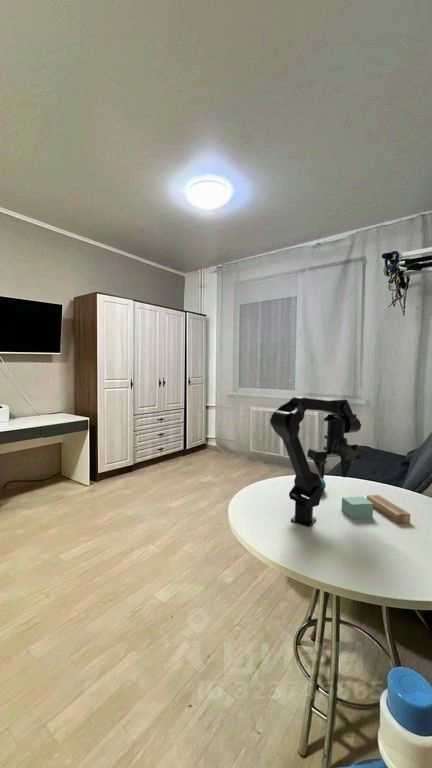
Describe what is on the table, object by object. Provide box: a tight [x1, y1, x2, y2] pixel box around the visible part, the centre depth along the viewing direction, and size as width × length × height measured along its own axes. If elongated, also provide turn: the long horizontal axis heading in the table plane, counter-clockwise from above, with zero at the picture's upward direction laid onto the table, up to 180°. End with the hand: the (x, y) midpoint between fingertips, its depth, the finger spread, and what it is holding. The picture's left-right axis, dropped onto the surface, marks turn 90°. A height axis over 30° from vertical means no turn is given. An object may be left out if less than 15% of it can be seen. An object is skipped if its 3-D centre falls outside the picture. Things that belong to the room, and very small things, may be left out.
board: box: [366, 494, 411, 525], centre depth 114 cm, size 5×16×3 cm, turn 9°
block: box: [341, 496, 374, 519], centre depth 112 cm, size 8×6×5 cm
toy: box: [319, 475, 327, 493], centre depth 134 cm, size 8×8×15 cm
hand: (333, 477), depth 113 cm, fingers open, 9 cm apart
